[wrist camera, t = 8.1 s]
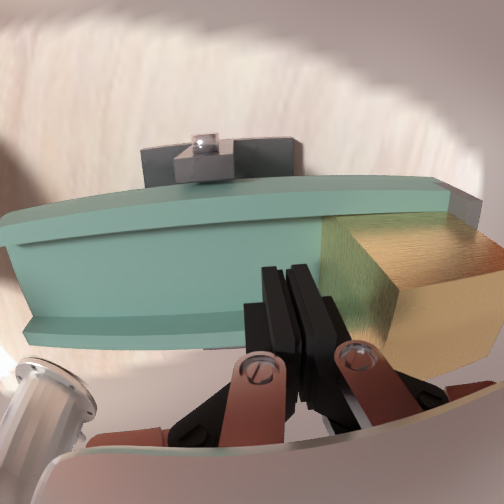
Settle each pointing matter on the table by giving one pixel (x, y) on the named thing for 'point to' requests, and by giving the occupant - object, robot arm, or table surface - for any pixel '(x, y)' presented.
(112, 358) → the table surface
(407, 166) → the table surface
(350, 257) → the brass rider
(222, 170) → the pivot stand
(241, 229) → the balance beam
